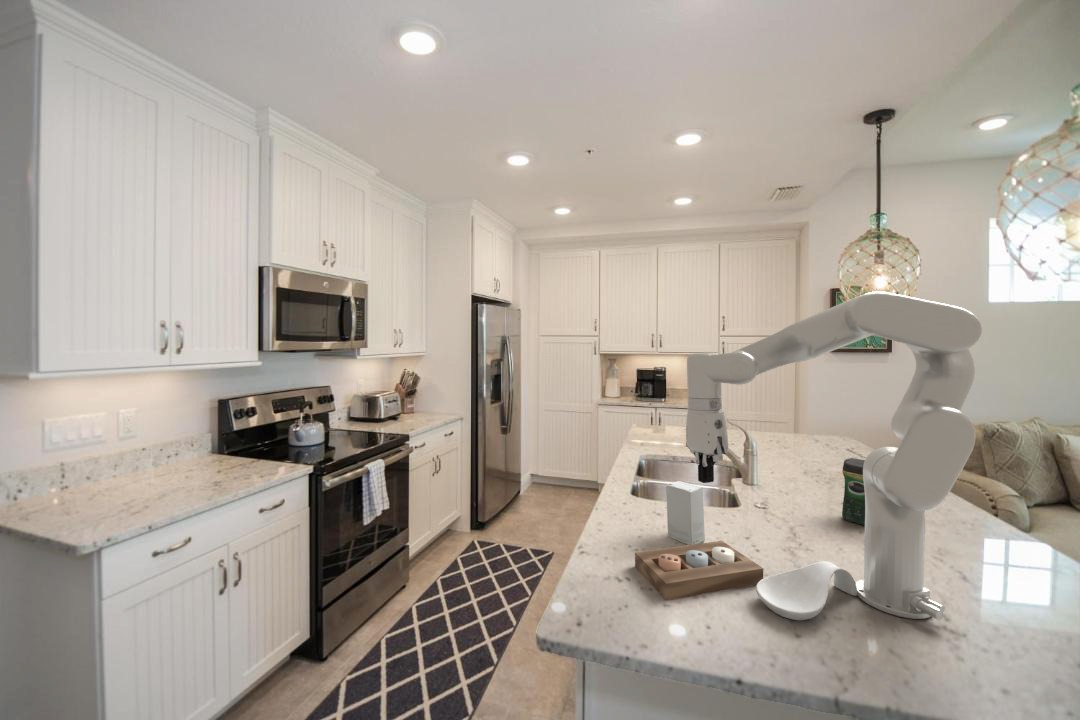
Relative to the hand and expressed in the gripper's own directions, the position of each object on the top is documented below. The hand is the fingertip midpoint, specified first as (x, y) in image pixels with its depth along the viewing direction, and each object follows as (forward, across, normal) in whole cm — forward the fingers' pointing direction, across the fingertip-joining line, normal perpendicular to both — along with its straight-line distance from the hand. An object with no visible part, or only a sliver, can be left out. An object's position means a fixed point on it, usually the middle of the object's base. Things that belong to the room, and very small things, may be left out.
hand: (706, 481), depth 102 cm
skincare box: (+21, +14, -4) cm, 25 cm away
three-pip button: (+20, -2, +12) cm, 23 cm away
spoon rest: (+22, -18, -10) cm, 30 cm away
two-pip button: (+20, -2, +5) cm, 21 cm away
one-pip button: (+20, -3, -2) cm, 21 cm away
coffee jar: (+22, +9, -62) cm, 66 cm away
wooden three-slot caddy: (+20, -2, +5) cm, 21 cm away
